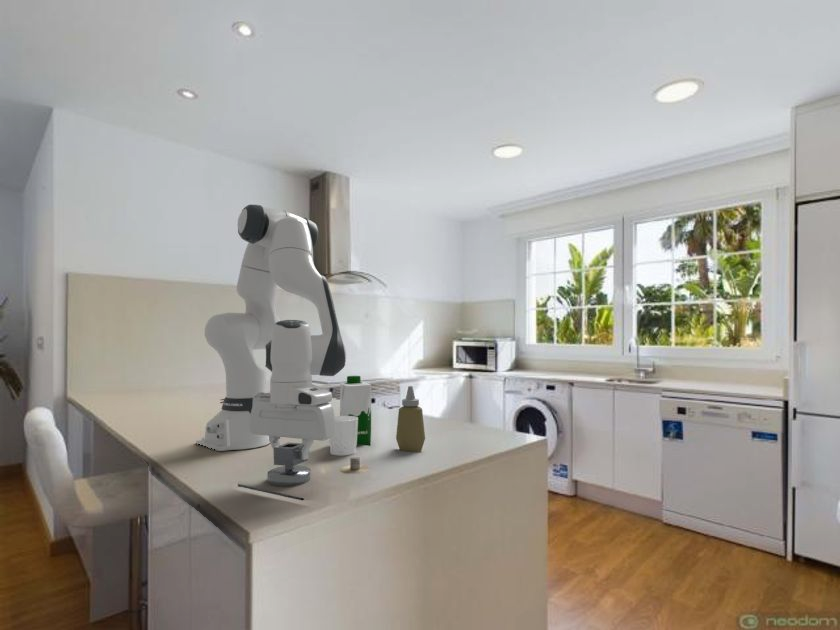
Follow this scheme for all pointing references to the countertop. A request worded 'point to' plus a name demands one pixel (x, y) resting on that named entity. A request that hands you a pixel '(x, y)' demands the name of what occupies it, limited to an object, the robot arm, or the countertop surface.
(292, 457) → the square hollow frame
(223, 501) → the countertop surface
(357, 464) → the stand
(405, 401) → the squeeze bottle
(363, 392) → the milk carton
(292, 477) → the grey plate with knob
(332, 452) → the white cup
